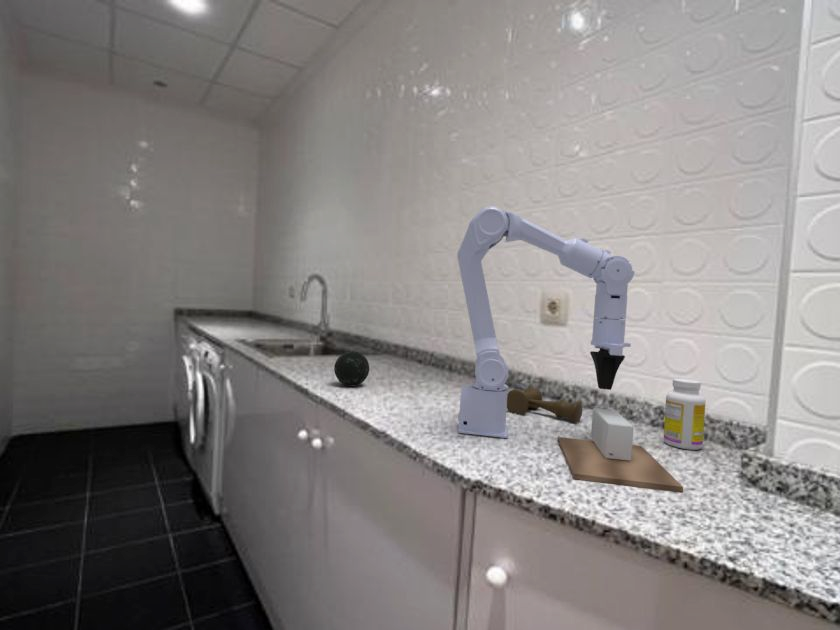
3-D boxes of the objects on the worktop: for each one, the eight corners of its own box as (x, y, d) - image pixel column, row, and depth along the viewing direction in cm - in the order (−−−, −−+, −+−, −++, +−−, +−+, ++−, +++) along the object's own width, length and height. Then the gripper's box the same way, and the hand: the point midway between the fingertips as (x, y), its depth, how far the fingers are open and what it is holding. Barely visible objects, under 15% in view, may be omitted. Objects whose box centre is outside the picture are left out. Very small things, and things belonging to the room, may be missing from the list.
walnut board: (573, 478, 66) (574, 473, 66) (557, 441, 84) (557, 436, 84) (682, 492, 63) (683, 486, 63) (640, 450, 82) (641, 445, 82)
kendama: (570, 429, 95) (491, 408, 108) (585, 423, 103) (509, 404, 116) (573, 402, 95) (493, 384, 108) (588, 397, 103) (511, 381, 115)
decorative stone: (327, 386, 123) (329, 351, 123) (342, 381, 133) (344, 348, 133) (360, 390, 121) (362, 354, 120) (373, 384, 130) (375, 351, 130)
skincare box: (613, 440, 84) (631, 462, 72) (590, 437, 85) (604, 459, 73) (616, 408, 84) (634, 426, 72) (592, 406, 85) (607, 423, 73)
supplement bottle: (699, 444, 88) (704, 380, 87) (705, 453, 82) (710, 385, 81) (661, 437, 91) (666, 376, 90) (664, 446, 85) (669, 380, 84)
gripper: (643, 321, 77) (637, 398, 77) (621, 319, 91) (617, 384, 91) (600, 318, 78) (595, 394, 79) (586, 317, 92) (581, 381, 93)
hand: (604, 388), depth 85 cm, fingers closed
